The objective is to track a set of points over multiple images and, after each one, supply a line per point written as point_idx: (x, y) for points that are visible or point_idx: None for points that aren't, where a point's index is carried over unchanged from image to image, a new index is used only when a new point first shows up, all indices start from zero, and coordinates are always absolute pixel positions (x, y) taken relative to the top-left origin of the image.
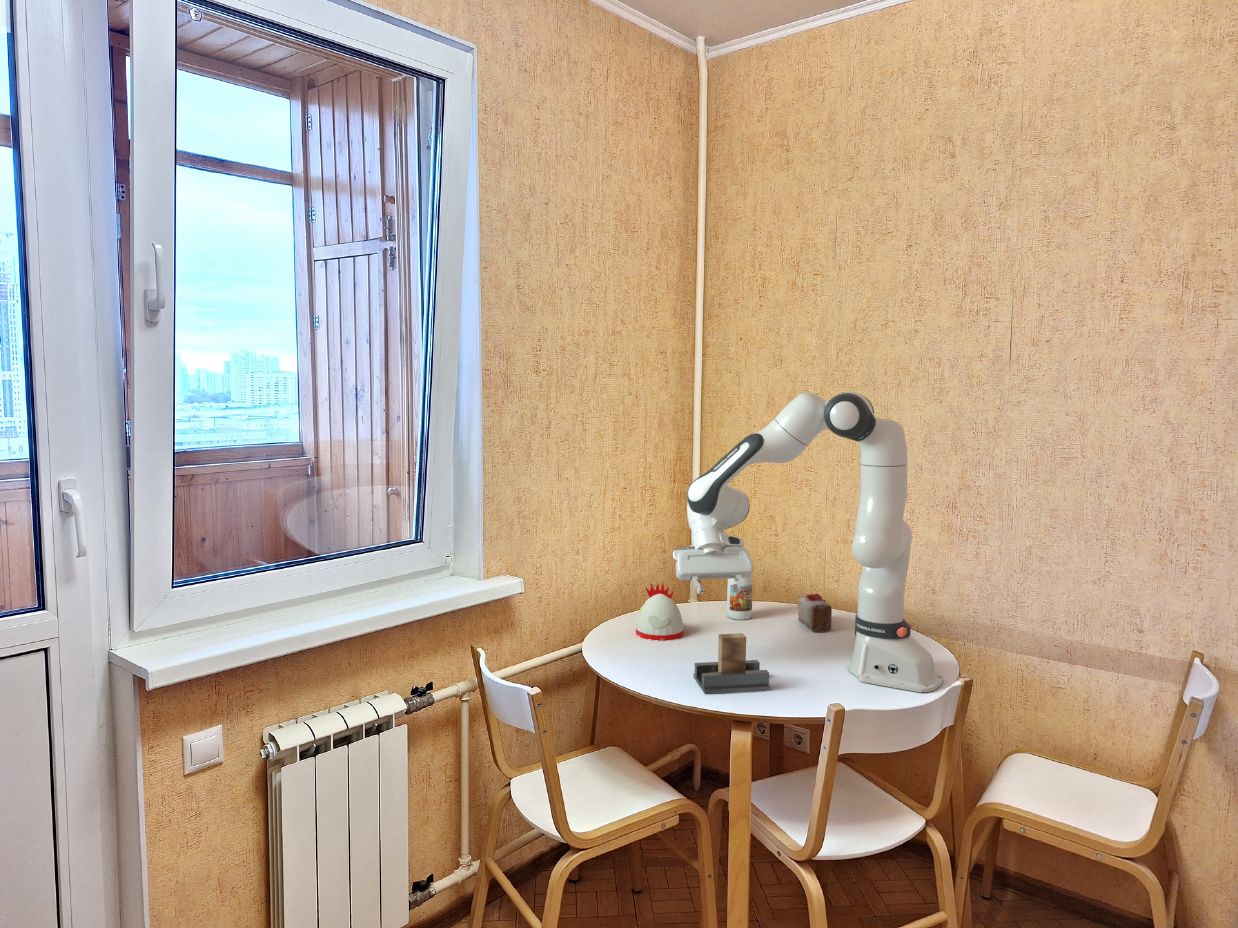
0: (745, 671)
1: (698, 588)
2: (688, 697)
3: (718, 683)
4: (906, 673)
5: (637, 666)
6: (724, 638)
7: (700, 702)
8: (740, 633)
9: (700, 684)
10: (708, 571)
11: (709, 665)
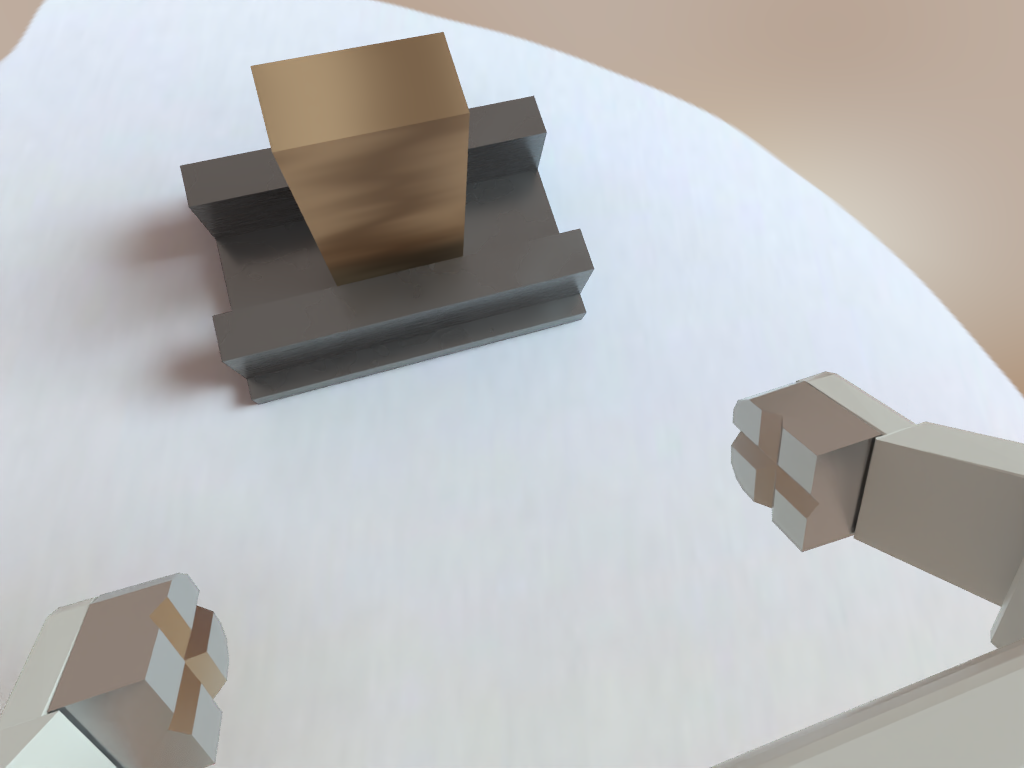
0: None
1: (861, 402)
2: (584, 96)
3: None
4: None
5: None
6: (425, 37)
7: (532, 53)
8: (290, 146)
9: (543, 192)
10: (967, 733)
11: (511, 245)
